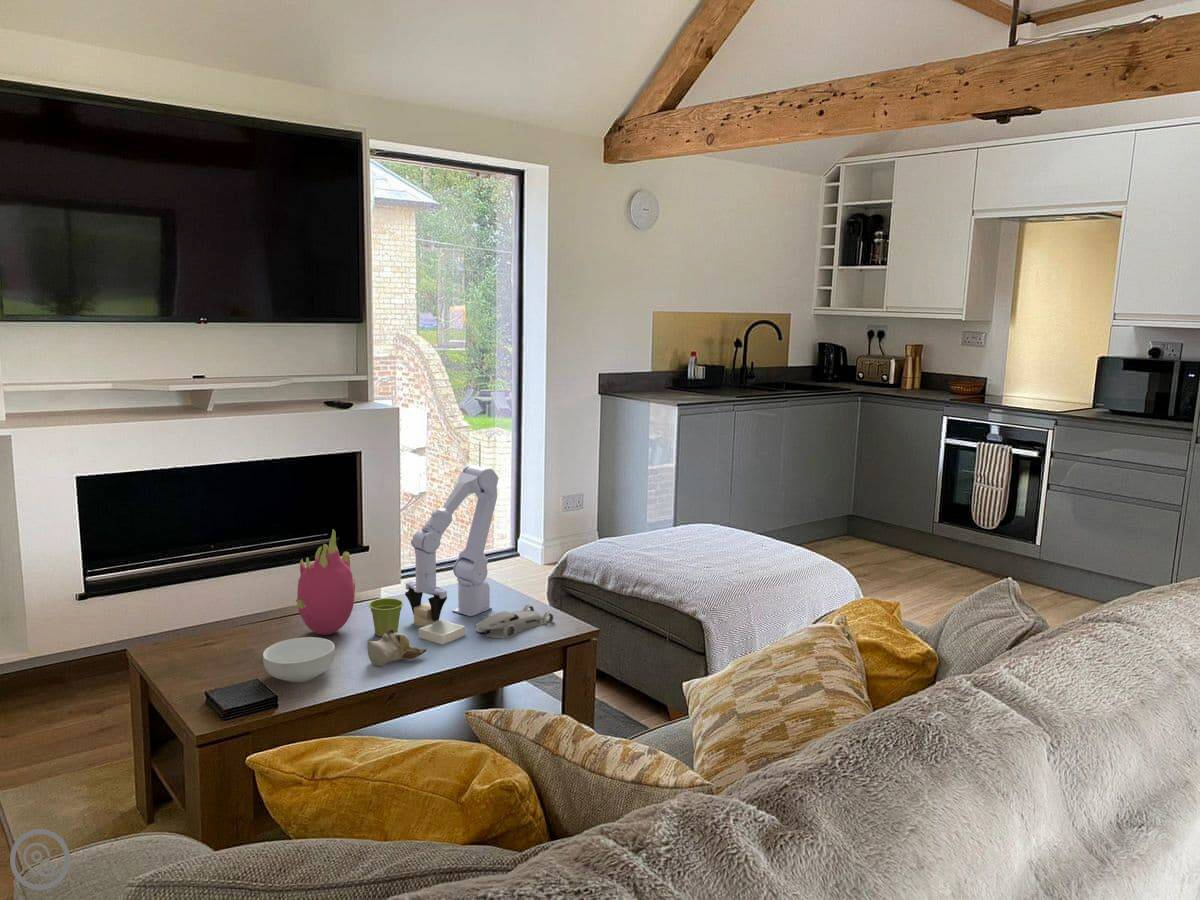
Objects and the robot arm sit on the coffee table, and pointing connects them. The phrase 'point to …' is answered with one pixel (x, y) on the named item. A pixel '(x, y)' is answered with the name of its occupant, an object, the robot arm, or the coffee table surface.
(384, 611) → the plant pot
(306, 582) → the pink dragon fruit
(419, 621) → the maple cube
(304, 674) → the cereal bowl
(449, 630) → the cream square tray
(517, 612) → the car model
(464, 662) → the coffee table surface
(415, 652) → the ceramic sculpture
